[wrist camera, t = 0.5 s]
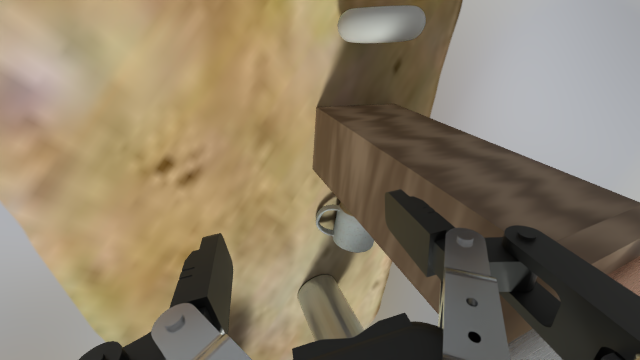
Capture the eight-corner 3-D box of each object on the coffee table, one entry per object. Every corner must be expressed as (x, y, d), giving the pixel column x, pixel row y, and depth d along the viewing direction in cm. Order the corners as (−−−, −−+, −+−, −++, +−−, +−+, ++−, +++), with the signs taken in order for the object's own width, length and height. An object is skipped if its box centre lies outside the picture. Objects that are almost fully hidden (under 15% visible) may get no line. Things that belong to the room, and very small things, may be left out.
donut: (390, 7, 35) (449, 3, 27) (387, 36, 37) (442, 41, 29) (322, 9, 32) (368, 6, 24) (323, 41, 34) (366, 48, 26)
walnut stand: (306, 175, 43) (479, 393, 18) (310, 100, 37) (578, 271, 12) (386, 163, 49) (596, 312, 24) (400, 97, 43) (700, 205, 18)
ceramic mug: (366, 190, 50) (390, 213, 44) (359, 223, 54) (380, 249, 48) (315, 198, 46) (334, 224, 40) (311, 233, 50) (328, 263, 44)
